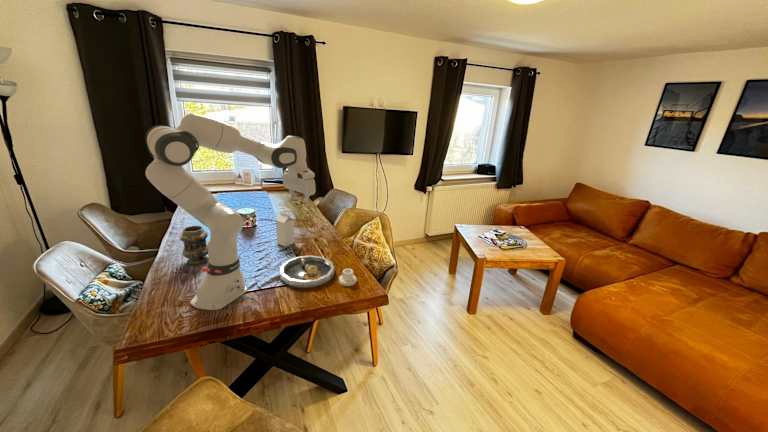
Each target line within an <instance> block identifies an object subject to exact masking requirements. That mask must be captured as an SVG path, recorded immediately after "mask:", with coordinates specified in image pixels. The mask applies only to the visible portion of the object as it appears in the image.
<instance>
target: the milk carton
mask: <svg viewBox="0 0 768 432" xmlns="http://www.w3.org/2000/svg"><path fill="white" fill-rule="evenodd" d="M275 226H276V227H275V229H276V230H275V231H276V244H278V245H280V246H283V247H284V248H286V247H288V246H290V245H293V244H295V220H294V219H293V218H292V217H291V216H290V215H289V214H288V213H286V212H280V214H279V215H278V216H277V218H276V219H275Z"/></svg>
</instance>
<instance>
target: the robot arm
mask: <svg viewBox="0 0 768 432" xmlns="http://www.w3.org/2000/svg"><path fill="white" fill-rule="evenodd" d="M145 144H146V147H147V149H148V152H149V155H150V157H151V158H153V161H151V163H149V164H148V166H147V167H146V169H145V176H146V177H145V178H146V179H147V180H148V181H149V183H151V184H152V186H154V187H155V189H157V190H158V191H159V192H160V193H161V194H162V195H163V196H165V197H166V198H168V199H169V200H171V201H172V202H173V203H174V204H176V205H177V206H178V207H179V208H181V209H183V210H184V211H185V212H186V213H188V215H190V216H191V217H193V218H194V219H195V220H197V221H198V222H199V223H200V224H202V225H203V226H205V227H206V228H208V230H209V232H210V239H209V241H208V243H206V244H207V249H208V254H207V257H209V261H208V262H207V266H203V267H202V268H201V272H202V273H206V274H205V275H204V276H203V277H202V279H201V281H200V283H198V286H197V287H196V293H195V296H194V297H193V298H192V299H191V300H190V302H189V303H190V305H191V306H192V307H194V308H197V309H200V310H207V311H217V310H221V309H223V308H224V307H225V306H227V305H229V304H230V303H232V302H233V301H235V300H236V299H238V298H239V297H241V296H243V295H245V293H246V292H248V288H247V286H246V283H245V279H244V276H243V272H242V270H241V267H240V266H241V260H240V256H239V252H238V251H239V250H238V238H239V237H238V236H239V234H240V233H241V231H242V230H243V227H244V223H245V221H244V219H243V217H242V216H241V215H240V214H239V212H238V211H236V210H235V209H234V208H231V207H229V206H227V205H226V204H224V203H222V202H221V201H219V199H217V197H216V196H214V195H213V194H212V192H210V190H209V188H207V187H206V186H205V185H203V184H202V183H201V182H200V181H199V180H198V179H197V178H195V177H194V176H193V175H192V173H189V172H188V170H186V169H185V168H184V167H183V166H185V165H186V164H188V163H190V162H191V160H192V159H193V158H194V156H195V154H196V153H197V151H198V150H199V148H200V147H201V148H206V149H209V150H212V151H215V152H220V153H226V154H232V153H235V152H240V153H243V154H247V155H250V156H252V157H254V158H256V159H257V160H258V161H259V162H260V163H261V164H264V165H267V166H271V167H275V168H276V169H284V171H283V175H282V185H283V187H284V188H285V189H288V192H289V194H290V198H291V199H296V198H297V196H296V193H295V192H297V193H301V194H303V196H304V198H303V199H302V202H303V203H306V204H307V203H309V199H310V196H313V195H315V194H316V192H317V191H316V181H315V179H314V178H315V177H316V176H315V175H316V174H315V172H313V171H312V170H311V169H310V168H309V167H308V163H307V149H306V148H307V147H306V143H305V140H304V138H303V137H300V136H295V135H287V136H286V137H285V138H284V139H283V140H282V141H280V142H278V143H272V141H271V142H270V141H256V140H253V139H250V138H247V137H244V136H243V135H242V133H241V132H240V131H239V129H237V128H236V127H235V126H233V125H231V124H229V123H226V122H224V121H222V120H220V119H217V118H214V117H210V116H206V115H204V114H203V115H202V114H199V113H198V114H197V113H187V114H186V115H184V116H183V118H182V119H181V121H180V123H179V126H177V127H175V128H174V127H172V126H169V125H167V124H165V125H164V124H157V125H154V126H152V127H150V128H149V129H148V130H147V132H146V134H145Z"/></svg>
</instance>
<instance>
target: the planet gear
mask: <svg viewBox="0 0 768 432" xmlns="http://www.w3.org/2000/svg"><path fill="white" fill-rule="evenodd" d="M356 283H357V277H356V275H354V270H353V269H352V268H344V269H343V270H342V273H341V275H340V276H339V277H338V284H339V285H342V286H344V287H352V286H355V285H356Z"/></svg>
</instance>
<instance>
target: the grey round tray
mask: <svg viewBox="0 0 768 432" xmlns="http://www.w3.org/2000/svg"><path fill="white" fill-rule="evenodd" d="M279 270H280V271H279V278H280V281H281V282H282V283H283V284H284V285H286V286H287V287H288V286H289V287H291V288H296V289H312V288H317V287H320V286H323V285H326V284H327V283H329V282H330V281H331V280H332V279H333V278H334V276H335V275H334V274H335V266H334V264H333V261H331V260H330V259H328V258H326V257H324V256H319V255H317V256H316V255H302V256H301V255H299V256H297V257H293V258H290V259H287V260H286V261H285V262H283V264H282V265H281V266H280V267H279Z"/></svg>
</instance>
